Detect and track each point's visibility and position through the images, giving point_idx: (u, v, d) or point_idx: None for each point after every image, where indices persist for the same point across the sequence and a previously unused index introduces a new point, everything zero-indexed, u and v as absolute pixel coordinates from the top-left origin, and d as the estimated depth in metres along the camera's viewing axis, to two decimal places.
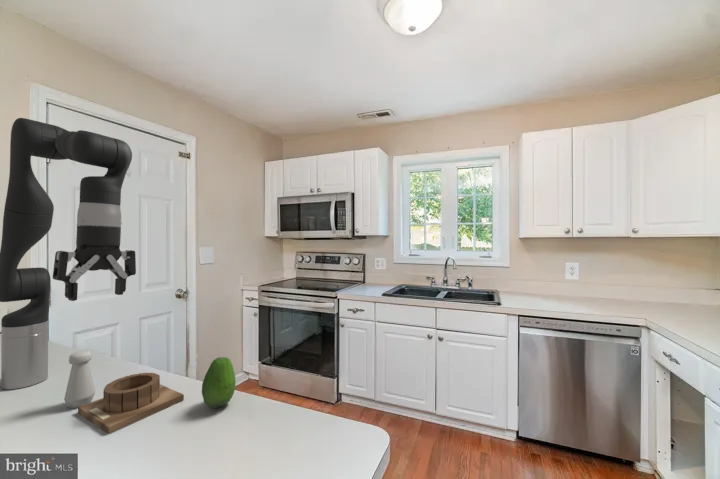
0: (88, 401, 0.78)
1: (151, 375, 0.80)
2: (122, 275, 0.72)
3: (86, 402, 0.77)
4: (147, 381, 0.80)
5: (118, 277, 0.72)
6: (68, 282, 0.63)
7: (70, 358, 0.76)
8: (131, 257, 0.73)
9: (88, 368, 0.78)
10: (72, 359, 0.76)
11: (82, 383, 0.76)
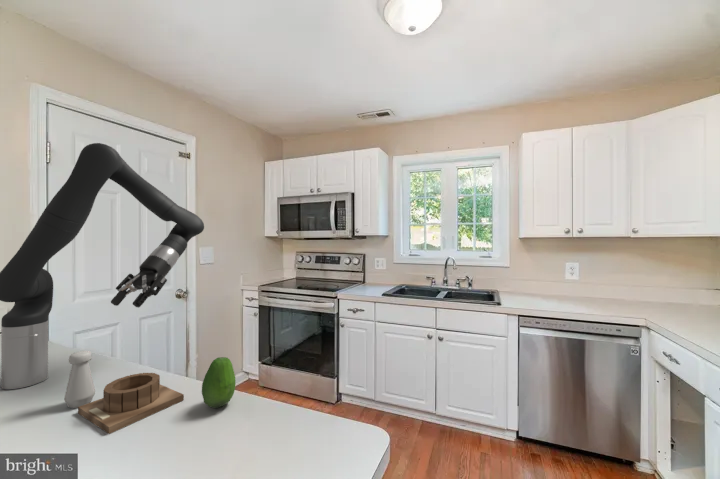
0: (88, 401, 0.78)
1: (151, 375, 0.80)
2: None
3: (86, 402, 0.77)
4: (147, 381, 0.80)
5: (123, 292, 0.92)
6: (149, 296, 0.90)
7: (70, 358, 0.76)
8: None
9: (88, 368, 0.78)
10: (72, 360, 0.76)
11: (82, 383, 0.76)
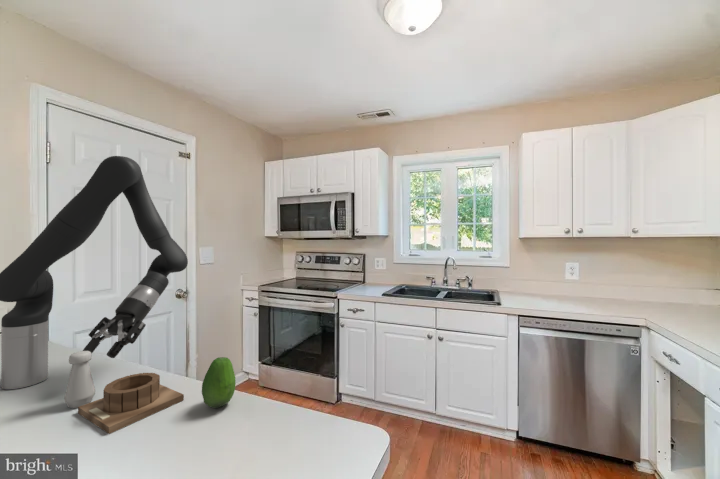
0: (88, 401, 0.78)
1: (151, 375, 0.80)
2: None
3: (86, 402, 0.77)
4: (147, 381, 0.80)
5: (97, 339, 0.85)
6: (125, 344, 0.83)
7: (70, 358, 0.76)
8: None
9: (88, 368, 0.78)
10: (72, 359, 0.76)
11: (82, 383, 0.76)
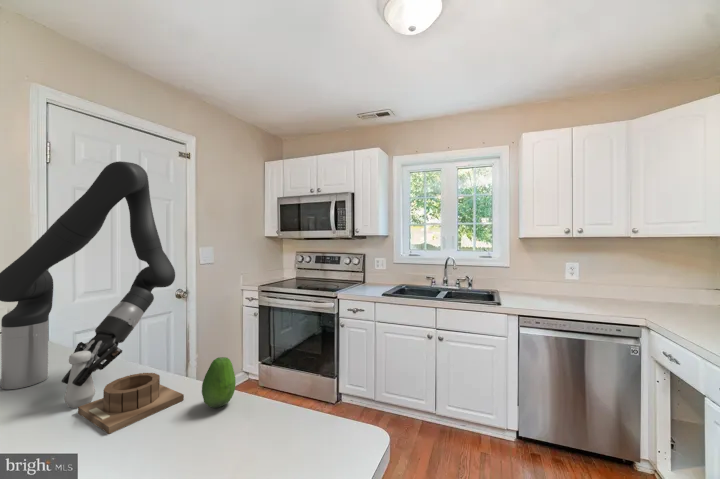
0: (88, 401, 0.78)
1: (151, 375, 0.80)
2: None
3: (86, 402, 0.77)
4: (147, 381, 0.80)
5: None
6: (93, 370, 0.78)
7: (70, 358, 0.76)
8: None
9: None
10: (72, 359, 0.76)
11: None
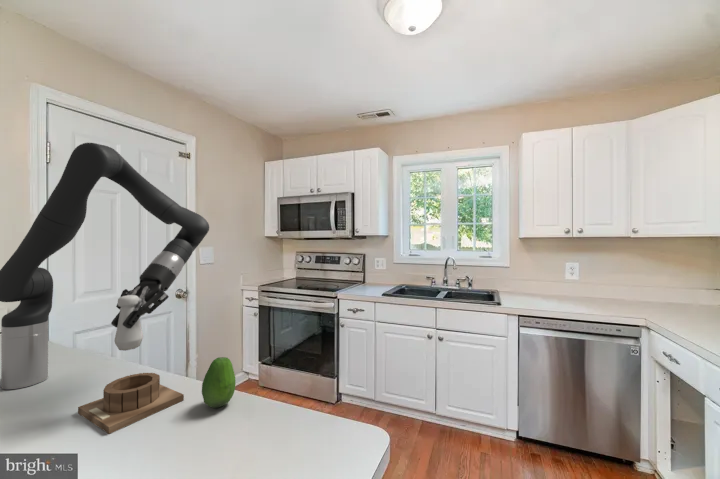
0: (137, 345, 0.77)
1: (151, 375, 0.80)
2: None
3: (136, 345, 0.76)
4: (147, 381, 0.80)
5: None
6: (142, 314, 0.77)
7: (119, 300, 0.75)
8: None
9: None
10: (121, 301, 0.75)
11: None
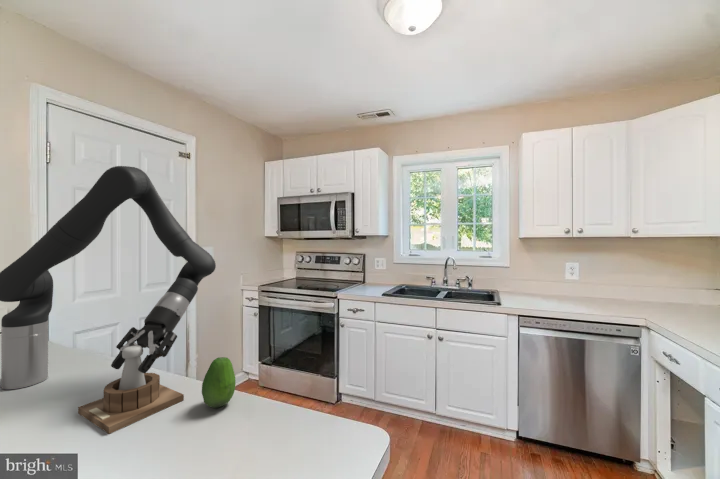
0: None
1: (151, 375, 0.80)
2: None
3: None
4: (147, 381, 0.80)
5: None
6: (156, 357, 0.77)
7: (123, 352, 0.75)
8: None
9: (140, 363, 0.78)
10: (126, 354, 0.75)
11: (135, 378, 0.76)
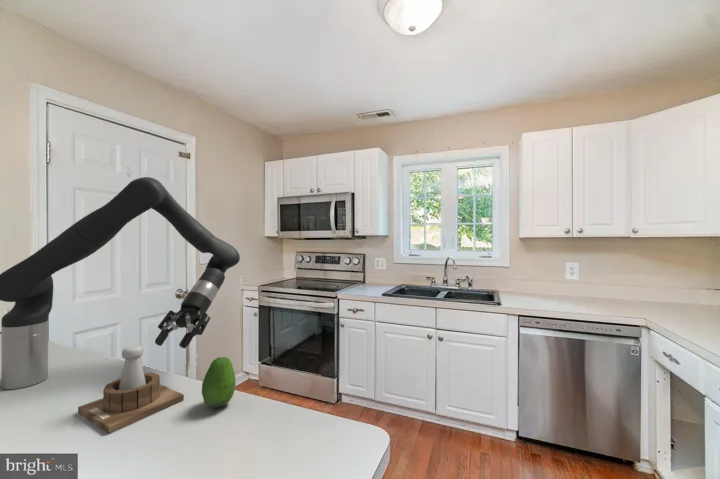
0: None
1: (151, 375, 0.80)
2: None
3: None
4: (147, 381, 0.80)
5: (166, 331, 0.90)
6: (194, 335, 0.88)
7: (123, 352, 0.75)
8: None
9: (140, 363, 0.78)
10: (126, 354, 0.75)
11: (135, 378, 0.76)
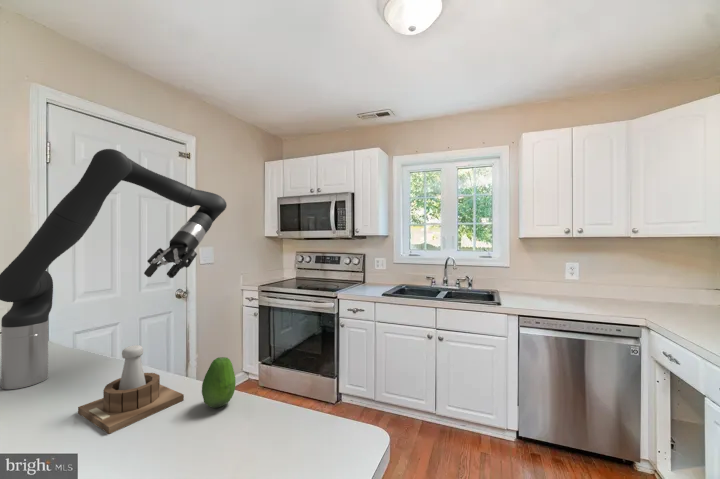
0: None
1: (151, 375, 0.80)
2: None
3: None
4: (147, 381, 0.80)
5: (155, 265, 0.96)
6: (181, 267, 0.94)
7: (123, 352, 0.75)
8: None
9: (140, 363, 0.78)
10: (126, 354, 0.75)
11: (135, 378, 0.76)
